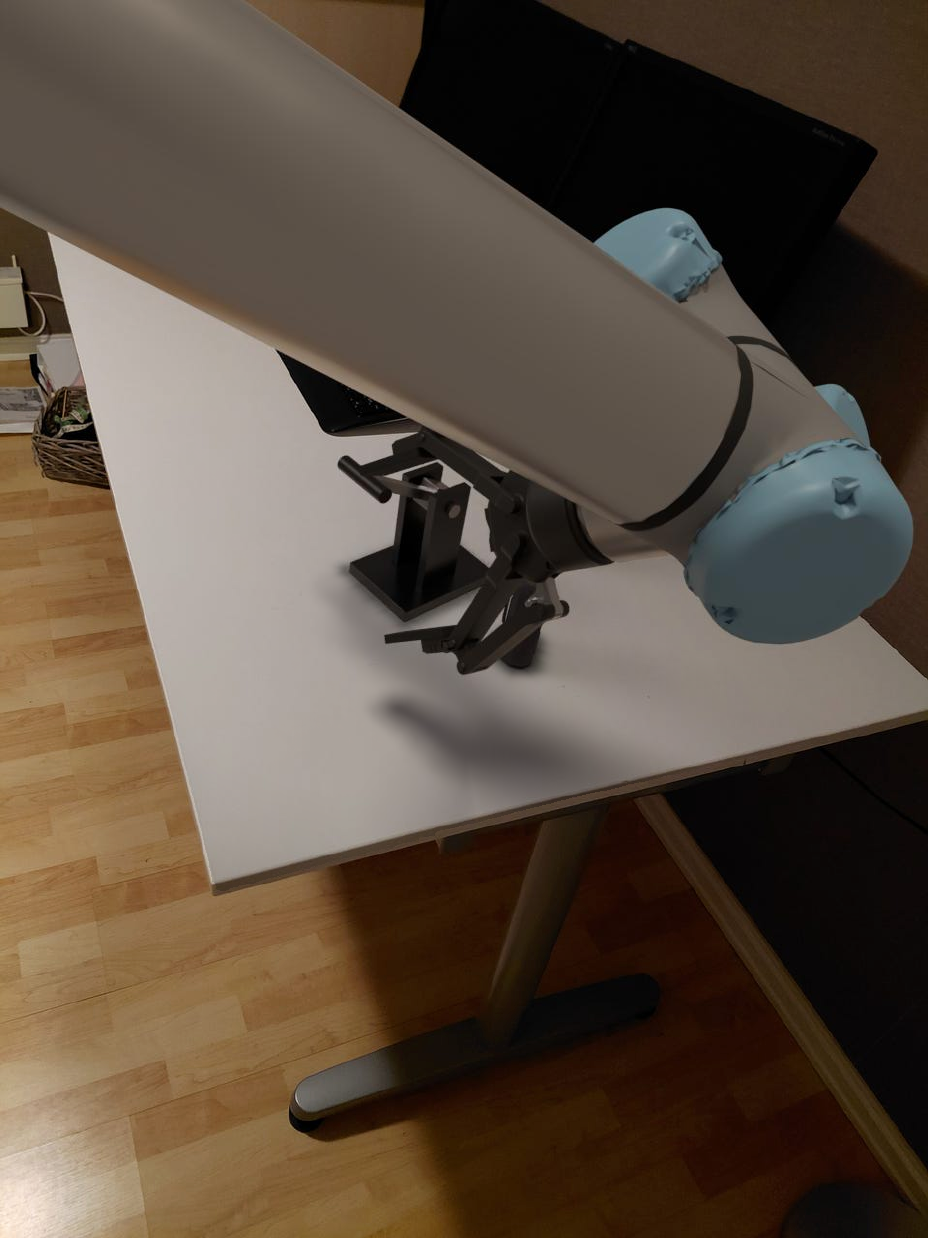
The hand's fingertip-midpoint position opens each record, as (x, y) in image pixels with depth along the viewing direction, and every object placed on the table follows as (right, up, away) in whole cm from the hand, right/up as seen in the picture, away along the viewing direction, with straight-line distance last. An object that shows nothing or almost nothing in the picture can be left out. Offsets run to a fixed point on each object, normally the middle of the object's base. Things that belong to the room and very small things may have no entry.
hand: (384, 554), depth 68 cm
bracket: (+2, -1, +19) cm, 19 cm away
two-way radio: (+11, -8, +13) cm, 19 cm away
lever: (0, +6, +9) cm, 11 cm away
